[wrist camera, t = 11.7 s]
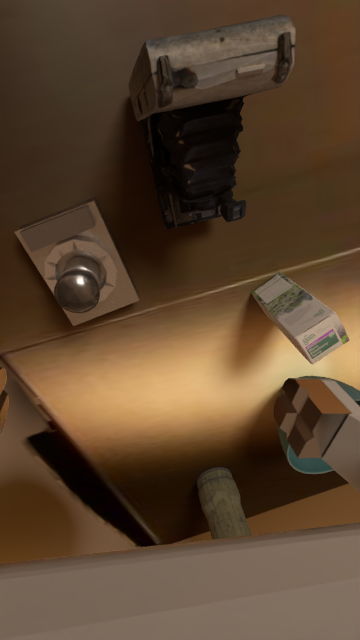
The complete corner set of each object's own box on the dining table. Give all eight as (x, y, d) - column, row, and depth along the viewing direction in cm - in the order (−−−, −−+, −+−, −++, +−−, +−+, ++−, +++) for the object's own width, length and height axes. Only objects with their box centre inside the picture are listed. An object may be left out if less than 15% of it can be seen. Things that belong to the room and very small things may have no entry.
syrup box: (265, 315, 52) (313, 368, 39) (249, 291, 49) (295, 340, 36) (293, 295, 51) (352, 342, 38) (279, 269, 48) (337, 311, 35)
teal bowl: (252, 374, 58) (282, 424, 47) (340, 343, 58) (390, 385, 48) (263, 433, 67) (291, 485, 57) (340, 406, 68) (381, 453, 57)
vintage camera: (155, 223, 41) (190, 283, 25) (123, 83, 33) (144, 28, 16) (222, 207, 42) (300, 253, 25) (208, 65, 34) (310, -4, 17)
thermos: (199, 497, 75) (256, 731, 45) (192, 469, 69) (254, 717, 39) (233, 487, 75) (312, 711, 45) (229, 459, 69) (318, 694, 39)
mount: (21, 226, 38) (9, 236, 34) (95, 197, 38) (92, 203, 34) (75, 316, 45) (71, 333, 41) (138, 291, 45) (140, 306, 41)
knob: (67, 250, 37) (59, 268, 32) (106, 262, 39) (104, 281, 34) (58, 285, 39) (49, 306, 34) (96, 295, 41) (93, 317, 36)
